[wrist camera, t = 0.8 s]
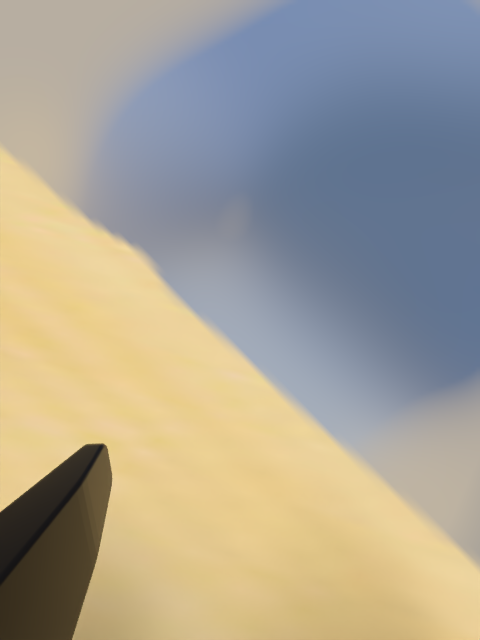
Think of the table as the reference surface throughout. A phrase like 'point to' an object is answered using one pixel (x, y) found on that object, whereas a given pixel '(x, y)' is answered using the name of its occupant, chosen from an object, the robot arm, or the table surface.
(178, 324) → the table surface
